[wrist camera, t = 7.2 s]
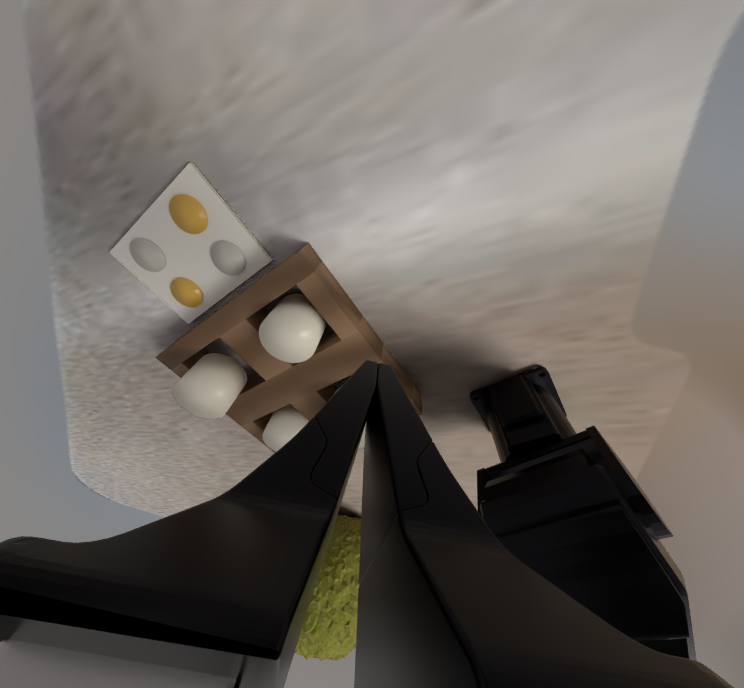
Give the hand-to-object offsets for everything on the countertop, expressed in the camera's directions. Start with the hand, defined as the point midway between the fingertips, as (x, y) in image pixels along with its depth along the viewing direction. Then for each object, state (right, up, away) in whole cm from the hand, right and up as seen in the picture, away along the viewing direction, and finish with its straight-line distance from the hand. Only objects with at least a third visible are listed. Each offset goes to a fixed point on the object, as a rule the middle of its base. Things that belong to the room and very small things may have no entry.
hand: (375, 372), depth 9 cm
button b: (-8, -6, +19) cm, 21 cm away
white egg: (-6, +3, +12) cm, 14 cm away
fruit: (-5, -25, +32) cm, 41 cm away
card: (-13, +7, +11) cm, 19 cm away
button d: (-12, -1, +14) cm, 19 cm away
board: (-7, -1, +16) cm, 17 cm away
